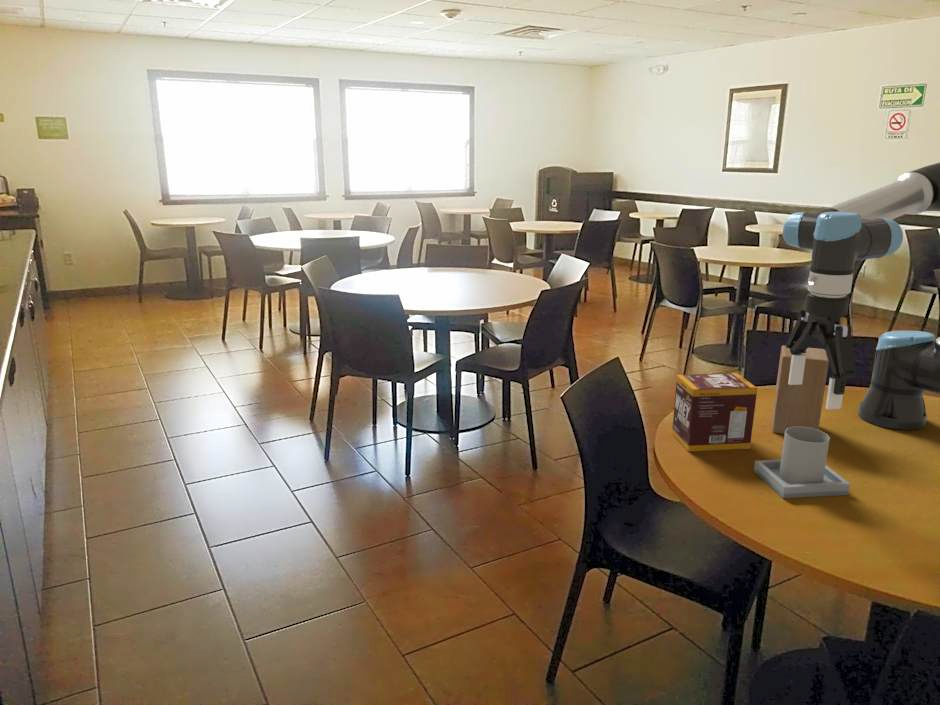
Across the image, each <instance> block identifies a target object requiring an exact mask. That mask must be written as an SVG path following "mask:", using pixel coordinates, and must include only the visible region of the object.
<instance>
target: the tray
mask: <svg viewBox="0 0 940 705" xmlns="http://www.w3.org/2000/svg"><path fill="white" fill-rule="evenodd" d="M780 463H781V458H780V459H763V460H755V461H754V468H753V472H754V473H755V474H757V476H758V477H760V478H761V479H762V480H763V481H764V482H765V483H766V484H767V485H768V486H769V487H770V488H771V489H772V490H773V491H774V492H775V493H776V494H778V496H779V497H780V498H782V499H795V498H814V497H815V498H816V497H830V496H831V497H833V496H834V497H835V496H847V495H848V496H849V492H850V487H851V482H848V481H847V480H846V479H845V478H843V476H841V475H840V474H838V473H837V472H836V471H834V470H833V469H831V467H829V466H828V465H825V471H824V478H823V482H822V483H810V484H790V483H787V482H785V481H784V480H782V479H781V478H780V476H779V470H780Z"/></svg>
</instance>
